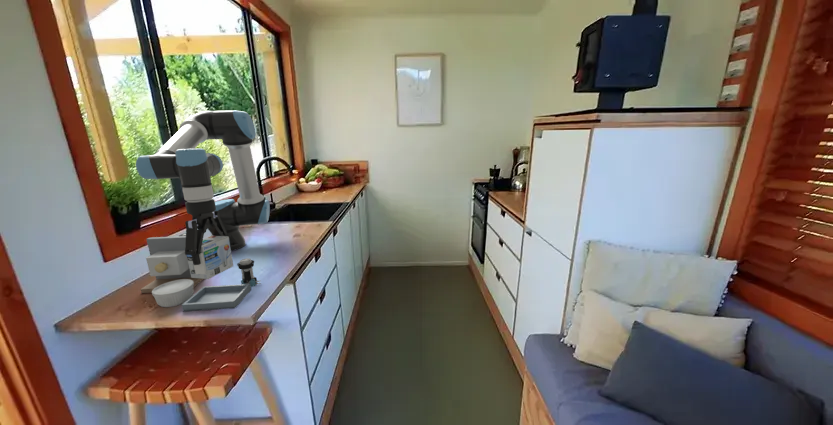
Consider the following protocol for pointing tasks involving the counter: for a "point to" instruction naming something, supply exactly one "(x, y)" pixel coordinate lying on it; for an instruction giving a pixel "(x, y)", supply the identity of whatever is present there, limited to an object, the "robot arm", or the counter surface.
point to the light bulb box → (213, 257)
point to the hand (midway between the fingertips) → (212, 265)
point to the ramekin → (173, 292)
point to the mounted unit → (167, 261)
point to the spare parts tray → (217, 297)
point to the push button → (247, 272)
